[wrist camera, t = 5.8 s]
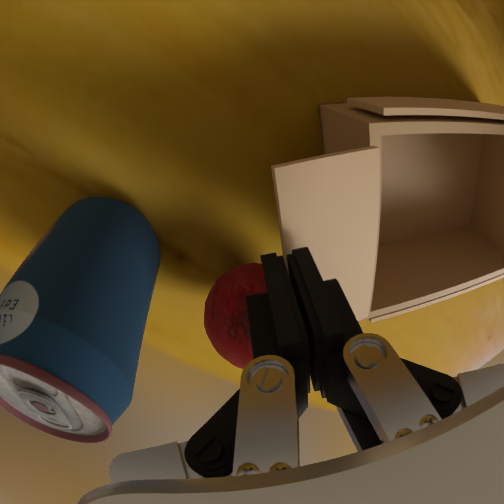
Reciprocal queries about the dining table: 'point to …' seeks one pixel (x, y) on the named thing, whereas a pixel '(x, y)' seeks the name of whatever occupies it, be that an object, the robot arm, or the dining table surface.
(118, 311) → the soda can
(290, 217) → the flap
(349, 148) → the carton
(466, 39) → the dining table surface
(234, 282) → the onion
